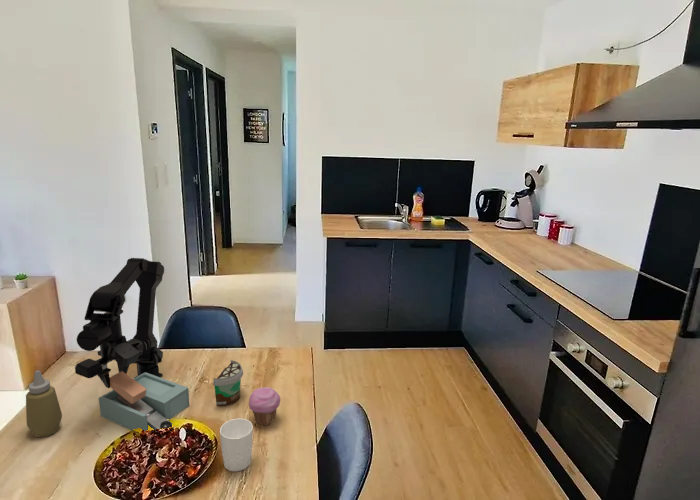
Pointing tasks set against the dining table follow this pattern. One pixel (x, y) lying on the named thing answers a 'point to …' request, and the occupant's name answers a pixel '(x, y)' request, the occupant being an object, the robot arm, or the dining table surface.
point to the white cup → (236, 444)
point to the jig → (158, 396)
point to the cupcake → (264, 404)
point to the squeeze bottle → (42, 407)
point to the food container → (228, 385)
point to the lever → (147, 413)
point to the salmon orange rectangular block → (127, 387)
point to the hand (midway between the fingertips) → (115, 383)
